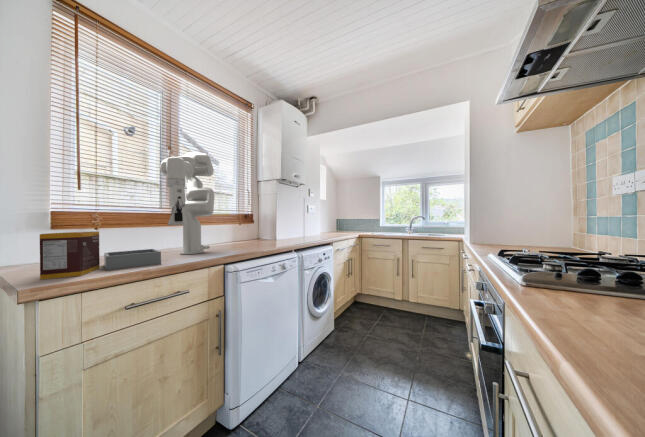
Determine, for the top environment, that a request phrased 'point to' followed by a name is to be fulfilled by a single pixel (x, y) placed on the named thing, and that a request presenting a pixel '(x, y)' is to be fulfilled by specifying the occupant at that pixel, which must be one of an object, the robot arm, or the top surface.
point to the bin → (131, 258)
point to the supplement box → (68, 254)
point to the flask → (172, 220)
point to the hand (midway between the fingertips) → (176, 221)
